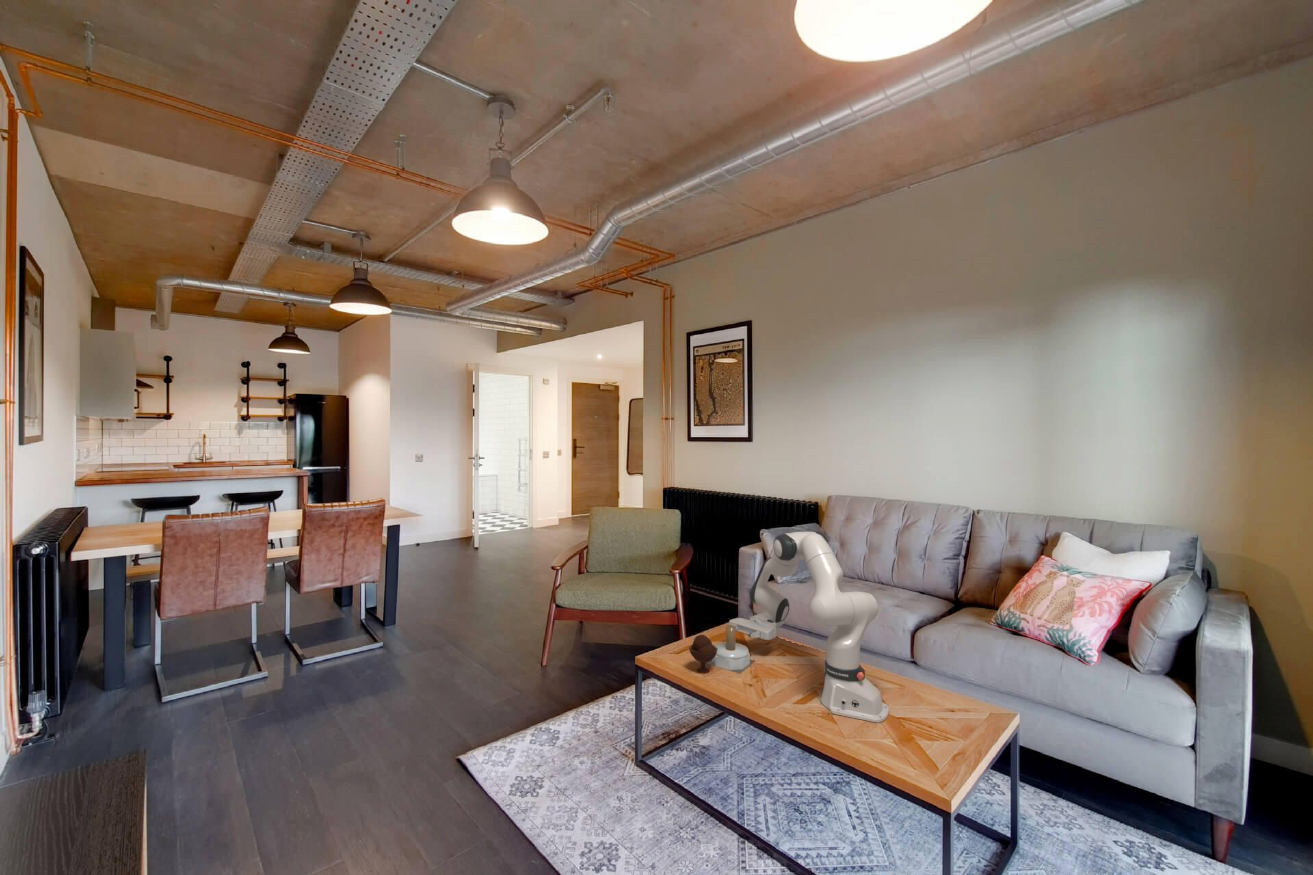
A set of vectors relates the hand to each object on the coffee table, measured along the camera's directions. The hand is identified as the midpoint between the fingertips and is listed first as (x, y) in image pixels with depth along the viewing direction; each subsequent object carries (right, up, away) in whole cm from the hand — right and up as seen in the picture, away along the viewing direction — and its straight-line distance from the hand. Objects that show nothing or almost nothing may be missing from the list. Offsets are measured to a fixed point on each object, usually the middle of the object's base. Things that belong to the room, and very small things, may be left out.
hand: (740, 632), depth 235 cm
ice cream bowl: (-17, -11, -14) cm, 24 cm away
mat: (-5, -11, -5) cm, 13 cm away
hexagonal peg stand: (-5, -10, -5) cm, 12 cm away
